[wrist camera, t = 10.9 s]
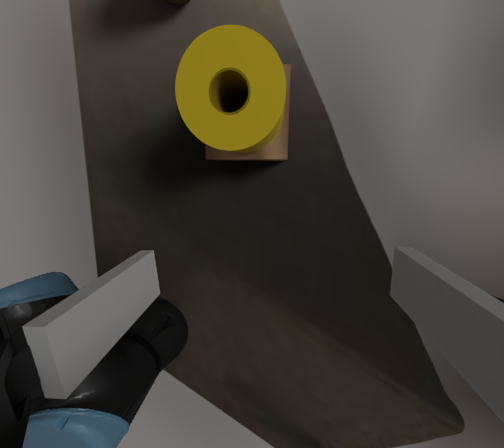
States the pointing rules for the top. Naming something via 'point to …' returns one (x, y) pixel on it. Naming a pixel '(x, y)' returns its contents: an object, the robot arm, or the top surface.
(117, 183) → the top surface
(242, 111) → the yellow toilet paper roll
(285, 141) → the tower block top
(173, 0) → the squeeze bottle
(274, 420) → the top surface
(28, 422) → the robot arm
